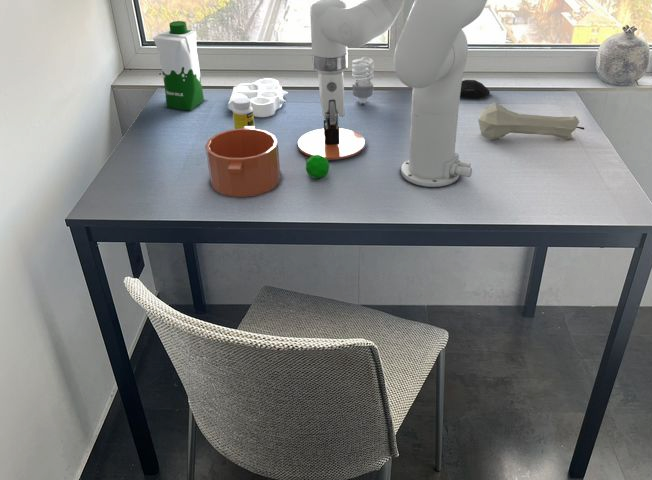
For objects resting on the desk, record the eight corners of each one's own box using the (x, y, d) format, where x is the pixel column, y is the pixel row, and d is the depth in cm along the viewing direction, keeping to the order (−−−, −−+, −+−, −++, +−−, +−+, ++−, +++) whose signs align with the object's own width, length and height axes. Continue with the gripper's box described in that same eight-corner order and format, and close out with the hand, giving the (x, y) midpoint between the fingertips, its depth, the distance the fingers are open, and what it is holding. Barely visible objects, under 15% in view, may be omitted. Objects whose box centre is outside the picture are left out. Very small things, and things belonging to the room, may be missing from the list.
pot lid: (365, 132, 163) (365, 110, 160) (364, 162, 151) (364, 139, 147) (301, 132, 163) (300, 110, 160) (294, 161, 151) (293, 138, 148)
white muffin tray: (235, 90, 185) (290, 90, 185) (226, 117, 170) (285, 117, 170) (234, 78, 183) (289, 78, 183) (225, 105, 168) (284, 104, 168)
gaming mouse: (434, 88, 186) (435, 74, 183) (489, 91, 184) (490, 77, 182) (432, 97, 181) (433, 82, 178) (489, 100, 179) (491, 86, 177)
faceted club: (472, 124, 164) (575, 129, 165) (476, 149, 159) (582, 153, 160) (479, 95, 157) (586, 100, 158) (483, 119, 152) (594, 124, 153)
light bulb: (360, 109, 174) (360, 63, 167) (347, 102, 178) (347, 56, 171) (377, 104, 177) (378, 58, 170) (365, 97, 181) (365, 52, 174)
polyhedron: (310, 184, 143) (309, 163, 140) (303, 173, 147) (302, 153, 144) (332, 179, 144) (332, 159, 142) (325, 169, 148) (324, 149, 145)
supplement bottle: (251, 138, 160) (247, 104, 155) (232, 137, 161) (228, 103, 156) (257, 130, 164) (254, 97, 159) (239, 128, 165) (235, 95, 160)
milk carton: (209, 99, 179) (198, 22, 168) (191, 113, 173) (179, 33, 161) (179, 95, 182) (167, 19, 170) (161, 108, 175) (147, 29, 163)
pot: (284, 158, 152) (282, 123, 147) (273, 204, 136) (270, 166, 131) (220, 158, 152) (216, 122, 147) (202, 203, 136) (196, 165, 131)
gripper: (350, 74, 139) (351, 155, 150) (344, 47, 152) (345, 124, 163) (313, 75, 138) (317, 157, 149) (310, 48, 151) (313, 125, 162)
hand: (331, 139), depth 156 cm, fingers open, 3 cm apart
